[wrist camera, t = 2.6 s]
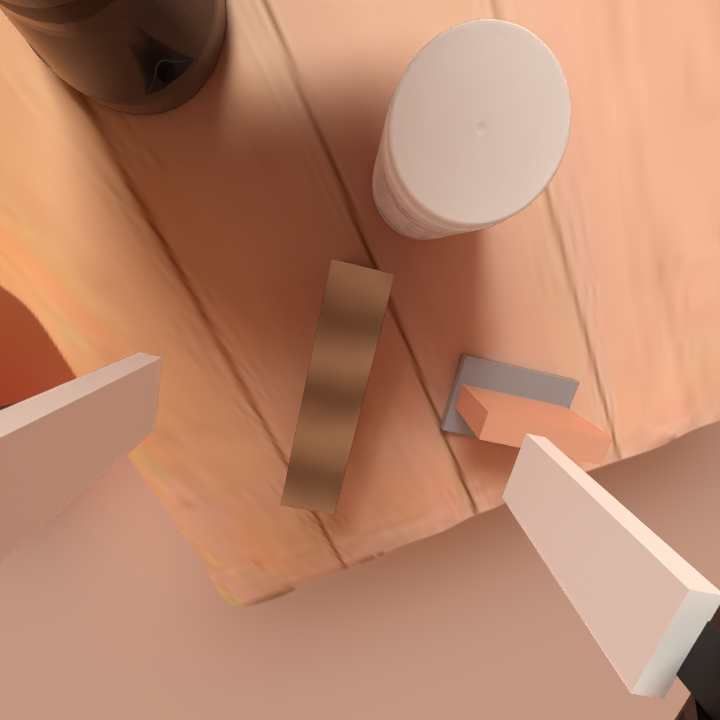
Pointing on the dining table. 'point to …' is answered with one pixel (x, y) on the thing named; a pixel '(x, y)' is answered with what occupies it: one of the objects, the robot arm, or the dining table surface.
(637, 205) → the dining table surface
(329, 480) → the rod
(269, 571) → the dining table surface
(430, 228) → the supplement tub
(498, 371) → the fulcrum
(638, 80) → the dining table surface
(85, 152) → the dining table surface
